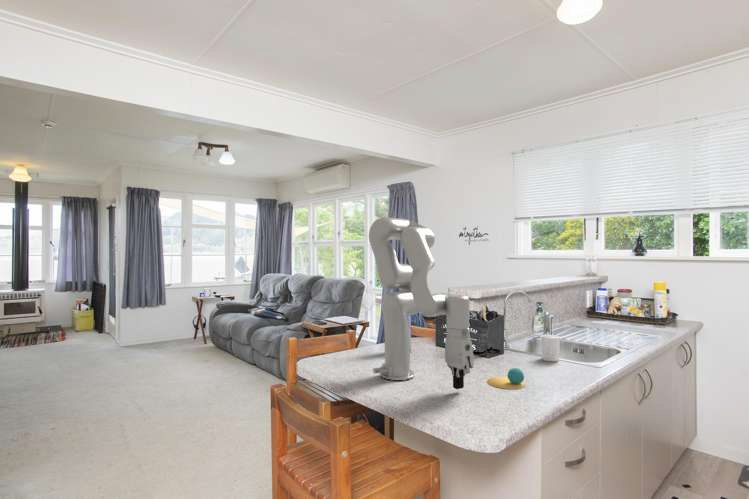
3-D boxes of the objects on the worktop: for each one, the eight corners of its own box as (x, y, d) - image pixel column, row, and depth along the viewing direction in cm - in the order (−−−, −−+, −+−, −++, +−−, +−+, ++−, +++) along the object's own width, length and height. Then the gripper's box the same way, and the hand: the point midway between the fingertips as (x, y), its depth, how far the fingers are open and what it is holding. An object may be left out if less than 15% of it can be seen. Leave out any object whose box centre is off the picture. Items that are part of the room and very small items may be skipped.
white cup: (548, 362, 173) (548, 338, 174) (536, 357, 181) (536, 335, 181) (564, 361, 176) (564, 337, 176) (551, 356, 183) (551, 333, 183)
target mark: (505, 391, 138) (505, 390, 138) (479, 380, 150) (479, 380, 150) (533, 385, 144) (533, 384, 144) (506, 375, 156) (506, 375, 156)
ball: (526, 369, 144) (528, 384, 144) (517, 364, 149) (518, 379, 149) (512, 372, 142) (514, 388, 143) (503, 367, 148) (505, 383, 148)
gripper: (482, 335, 133) (482, 393, 133) (453, 328, 146) (453, 380, 146) (463, 338, 129) (463, 396, 129) (435, 330, 143) (436, 383, 143)
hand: (458, 387), depth 138 cm, fingers closed
